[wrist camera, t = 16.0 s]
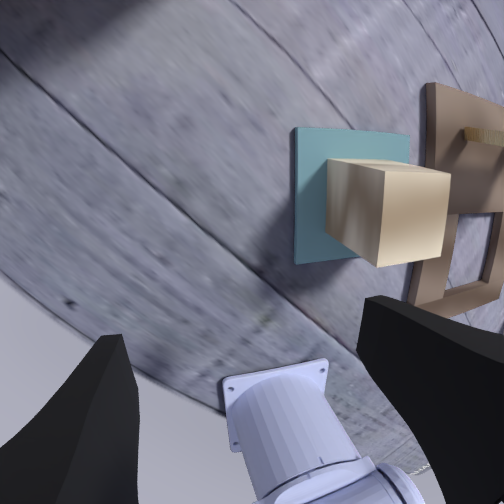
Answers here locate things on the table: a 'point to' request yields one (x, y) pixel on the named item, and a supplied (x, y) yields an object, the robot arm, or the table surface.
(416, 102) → the table surface
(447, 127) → the puzzle board
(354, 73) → the table surface
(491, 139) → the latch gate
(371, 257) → the birch block
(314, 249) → the teal square plate
